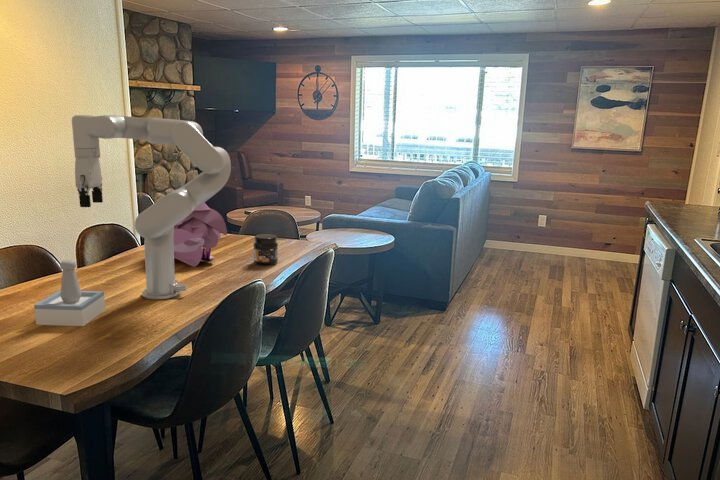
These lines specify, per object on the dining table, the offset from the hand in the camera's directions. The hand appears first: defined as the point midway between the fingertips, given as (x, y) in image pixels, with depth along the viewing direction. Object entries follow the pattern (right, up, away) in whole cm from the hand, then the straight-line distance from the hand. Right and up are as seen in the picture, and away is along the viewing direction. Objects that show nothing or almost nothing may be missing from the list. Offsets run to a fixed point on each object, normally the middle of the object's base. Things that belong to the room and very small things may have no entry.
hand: (91, 204), depth 180 cm
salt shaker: (+2, -31, -15) cm, 35 cm away
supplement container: (+49, -22, +54) cm, 76 cm away
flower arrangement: (+16, -21, +55) cm, 61 cm away
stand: (+1, -36, -15) cm, 39 cm away
